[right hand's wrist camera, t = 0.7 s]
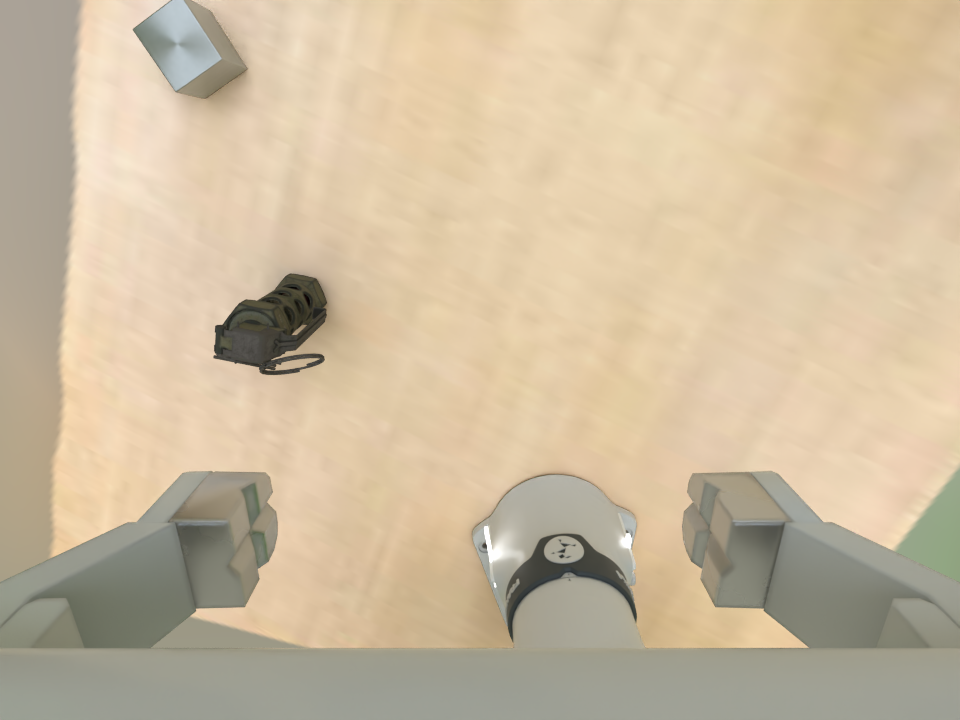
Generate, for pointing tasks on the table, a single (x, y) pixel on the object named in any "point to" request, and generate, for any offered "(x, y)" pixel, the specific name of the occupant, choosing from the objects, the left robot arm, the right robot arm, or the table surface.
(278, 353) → the grenade
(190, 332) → the table surface
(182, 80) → the block
